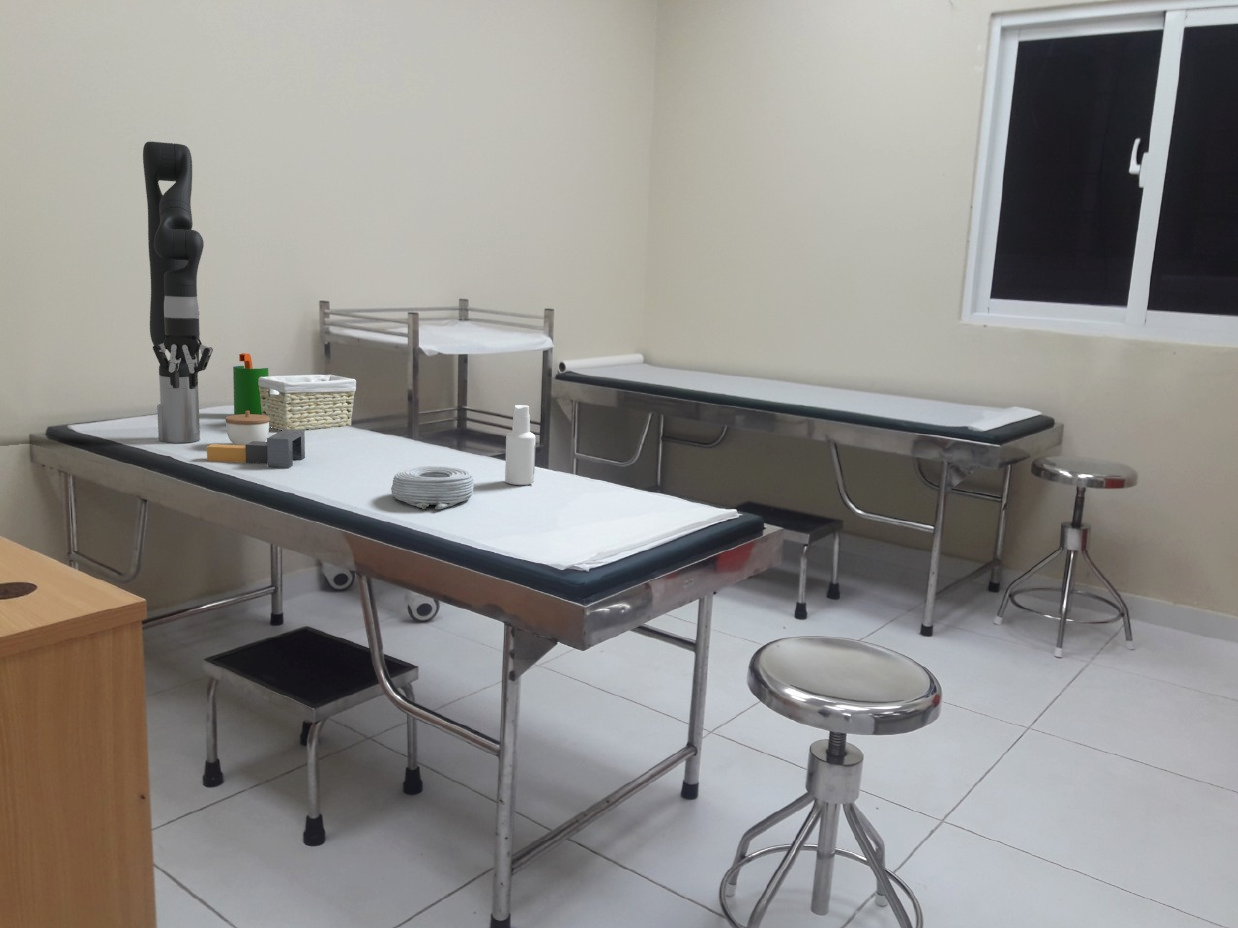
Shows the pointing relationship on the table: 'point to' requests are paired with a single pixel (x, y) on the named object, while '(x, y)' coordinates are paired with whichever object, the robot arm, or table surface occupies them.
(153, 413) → the table surface
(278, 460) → the housing
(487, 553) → the table surface
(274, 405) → the storage basket
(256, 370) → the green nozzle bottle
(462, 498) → the cable
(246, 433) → the lidded jar
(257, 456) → the plug
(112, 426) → the table surface
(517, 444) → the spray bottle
